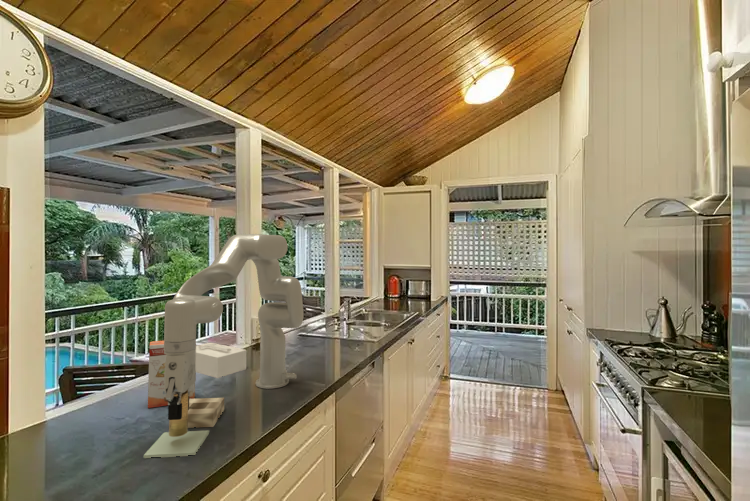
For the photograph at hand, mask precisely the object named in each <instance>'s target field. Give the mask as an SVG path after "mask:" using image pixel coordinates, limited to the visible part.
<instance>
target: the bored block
mask: <svg viewBox="0 0 750 501" xmlns="http://www.w3.org/2000/svg"><path fill="white" fill-rule="evenodd" d="M224 411H225V397H206V398H205V397H204V398H195V399H189V410H188V429H192V428H193V429H195V428H194V427H196V428H214V427H215V425H216V423H217V422H218V421H219V419H218V418H220V417H221V416H220V415H222V414H223V413H224ZM222 412H223V413H222Z"/></svg>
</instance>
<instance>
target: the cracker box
mask: <svg viewBox="0 0 750 501" xmlns="http://www.w3.org/2000/svg"><path fill="white" fill-rule="evenodd" d="M148 347H149V350H148V352H149V354H148V380H147V381H148V382H147V383H148V384H147V387H148V388H147V389H148V390H147V409H152V408H159V407H167V406H168V400H167V399H166V394H167V393H165V391H164V374H165V362H166V354H164V340H154V341H150V342H149V346H148ZM194 352H195V364H196V350H195V351H194ZM189 389H190V394H189V395H188V396H189V399H196V398H195V397H196V395H195V394H196V382H195V383H194V384H193V385H192V386H191V387H190V388H189ZM176 391H177V389H175V390H174V392H176Z"/></svg>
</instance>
